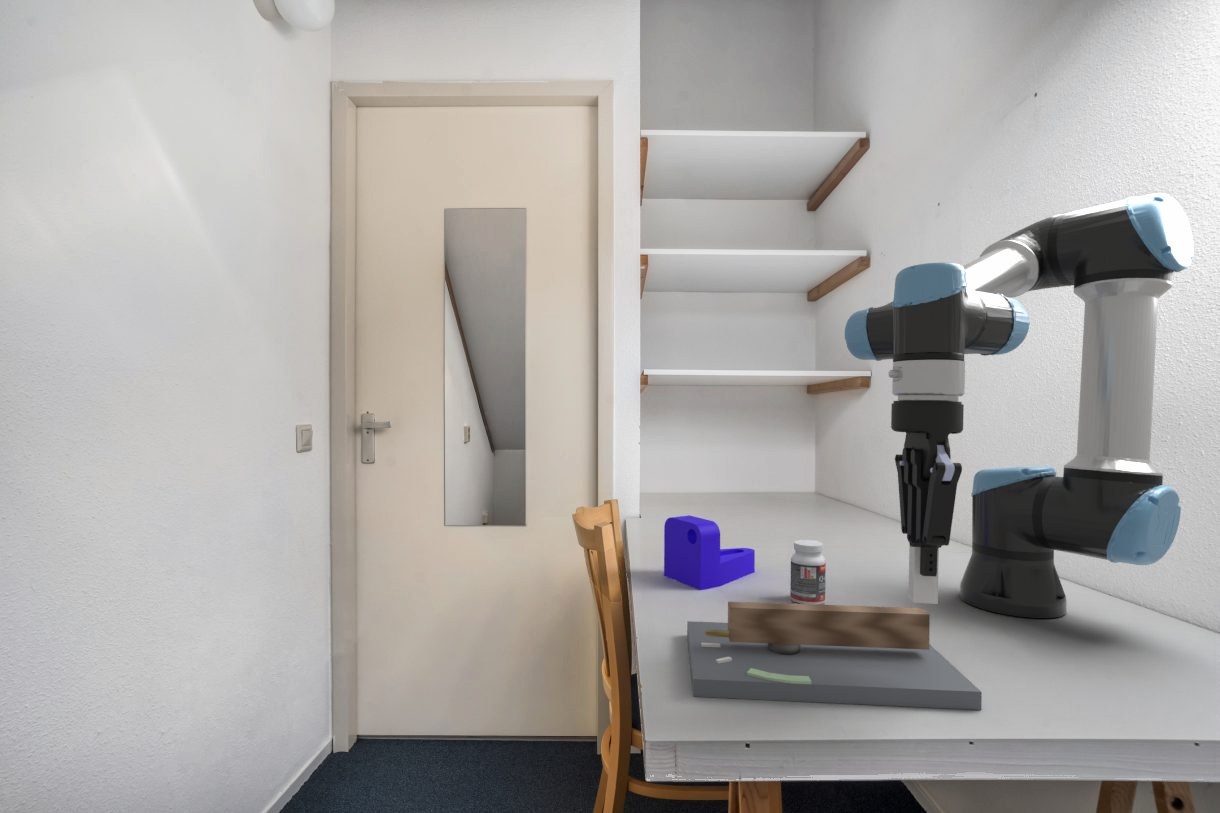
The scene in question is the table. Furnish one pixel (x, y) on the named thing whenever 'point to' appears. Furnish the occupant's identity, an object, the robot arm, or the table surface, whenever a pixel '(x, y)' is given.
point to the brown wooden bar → (825, 626)
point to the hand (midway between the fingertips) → (922, 601)
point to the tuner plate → (825, 673)
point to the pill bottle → (808, 573)
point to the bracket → (702, 554)
